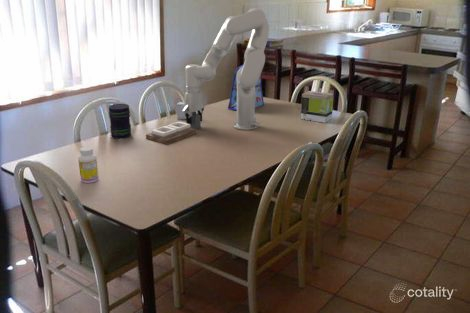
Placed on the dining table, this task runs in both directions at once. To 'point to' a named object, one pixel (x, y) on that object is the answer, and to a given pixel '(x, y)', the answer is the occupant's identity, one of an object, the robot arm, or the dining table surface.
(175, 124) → the socket plate
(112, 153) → the dining table surface
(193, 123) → the plug
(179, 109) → the medicine box
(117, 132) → the storage jar
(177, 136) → the walnut board
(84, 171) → the supplement bottle
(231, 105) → the lunch bag
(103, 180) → the dining table surface
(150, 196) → the dining table surface
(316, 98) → the tea box
